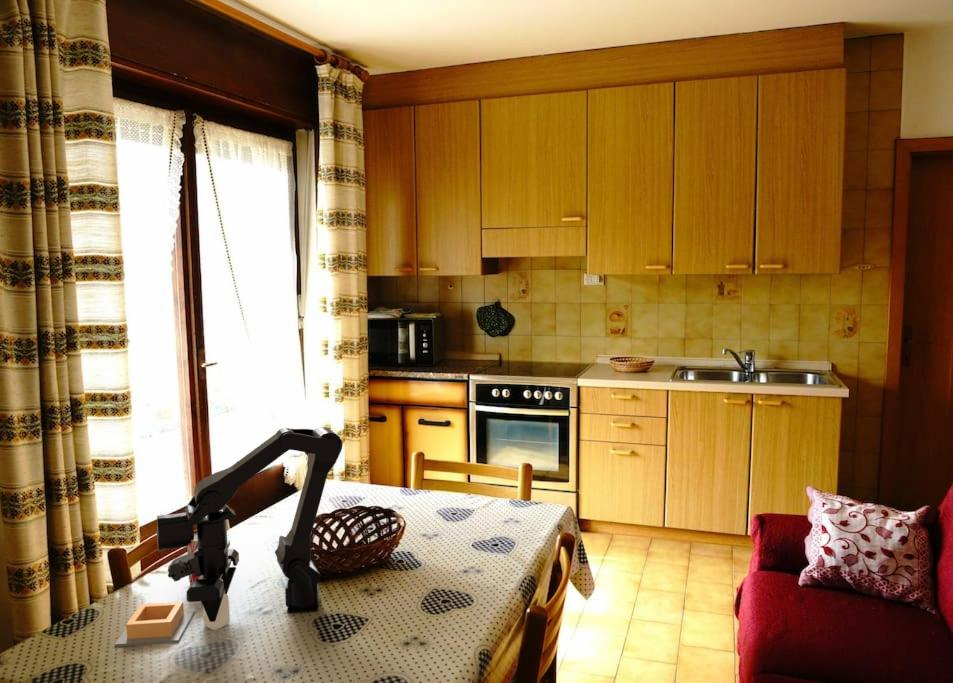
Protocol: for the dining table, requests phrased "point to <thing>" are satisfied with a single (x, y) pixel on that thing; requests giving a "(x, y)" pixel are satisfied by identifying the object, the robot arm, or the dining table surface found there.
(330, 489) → the dining table surface
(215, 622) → the pepper shaker
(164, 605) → the collar
